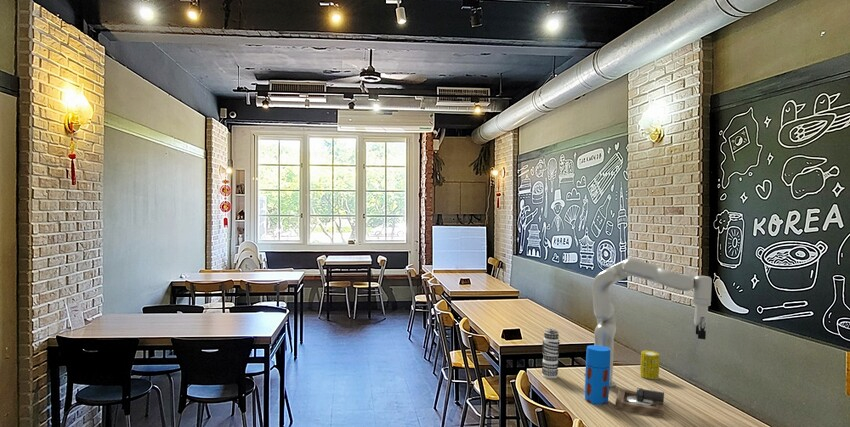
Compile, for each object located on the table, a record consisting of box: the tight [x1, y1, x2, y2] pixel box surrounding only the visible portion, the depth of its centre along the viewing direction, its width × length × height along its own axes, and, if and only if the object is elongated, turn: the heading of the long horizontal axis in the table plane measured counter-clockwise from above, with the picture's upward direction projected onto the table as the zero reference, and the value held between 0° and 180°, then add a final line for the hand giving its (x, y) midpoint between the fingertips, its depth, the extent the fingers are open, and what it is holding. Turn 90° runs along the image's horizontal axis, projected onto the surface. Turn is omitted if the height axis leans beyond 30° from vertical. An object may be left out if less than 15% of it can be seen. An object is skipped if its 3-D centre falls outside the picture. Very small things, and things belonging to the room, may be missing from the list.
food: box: [639, 349, 661, 380], centre depth 294 cm, size 15×12×10 cm
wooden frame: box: [614, 388, 665, 418], centre depth 251 cm, size 20×20×3 cm
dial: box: [627, 387, 665, 406], centre depth 250 cm, size 16×12×6 cm
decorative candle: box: [541, 328, 561, 379], centre depth 291 cm, size 9×9×25 cm
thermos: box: [584, 344, 610, 406], centre depth 255 cm, size 11×11×25 cm
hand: (700, 336), depth 262 cm, fingers open, 9 cm apart
